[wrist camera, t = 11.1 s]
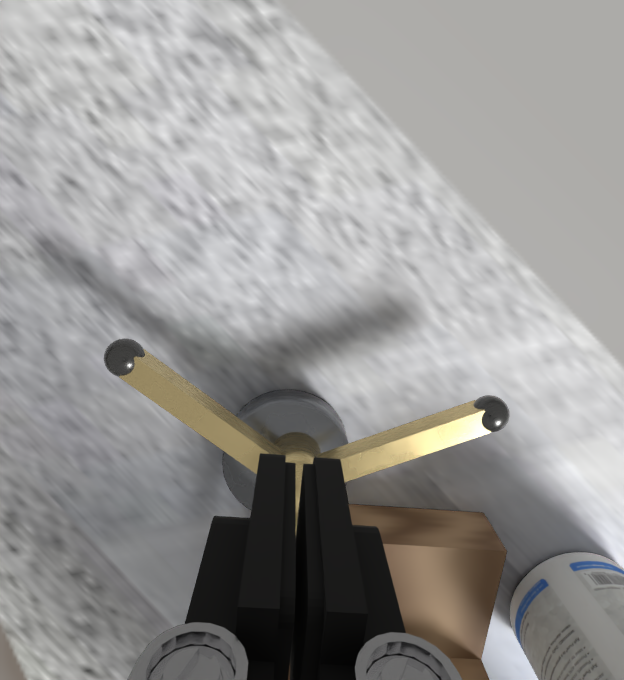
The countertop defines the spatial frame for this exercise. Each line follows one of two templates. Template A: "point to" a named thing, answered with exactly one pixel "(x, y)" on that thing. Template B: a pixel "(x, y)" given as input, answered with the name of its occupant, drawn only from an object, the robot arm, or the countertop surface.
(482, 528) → the level stand
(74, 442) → the countertop surface
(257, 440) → the tan branched rod piece
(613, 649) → the supplement tub
